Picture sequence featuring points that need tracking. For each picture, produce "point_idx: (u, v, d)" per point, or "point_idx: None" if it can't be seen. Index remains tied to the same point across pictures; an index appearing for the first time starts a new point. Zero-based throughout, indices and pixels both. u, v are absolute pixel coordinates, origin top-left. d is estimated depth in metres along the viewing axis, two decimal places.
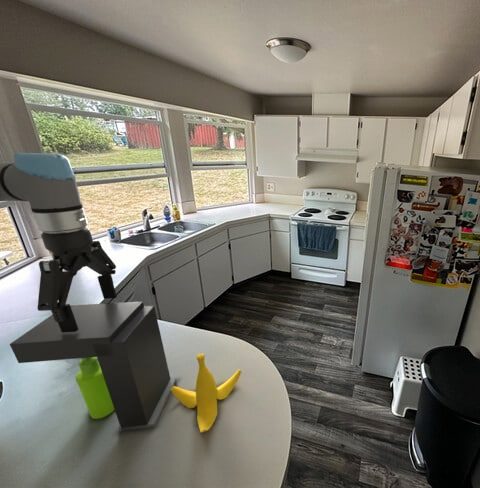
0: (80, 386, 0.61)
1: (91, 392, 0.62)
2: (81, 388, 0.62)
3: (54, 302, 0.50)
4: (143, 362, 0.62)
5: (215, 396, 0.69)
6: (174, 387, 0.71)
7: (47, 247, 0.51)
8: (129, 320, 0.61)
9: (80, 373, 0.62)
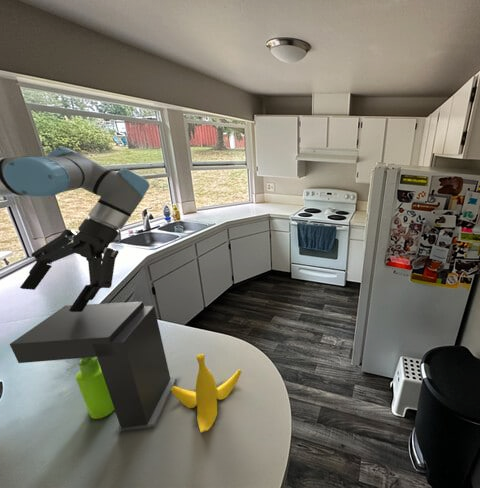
0: (80, 386, 0.61)
1: (91, 392, 0.62)
2: (81, 388, 0.62)
3: None
4: (143, 362, 0.62)
5: (215, 396, 0.69)
6: (174, 387, 0.71)
7: (103, 236, 0.63)
8: (129, 320, 0.61)
9: (80, 373, 0.62)
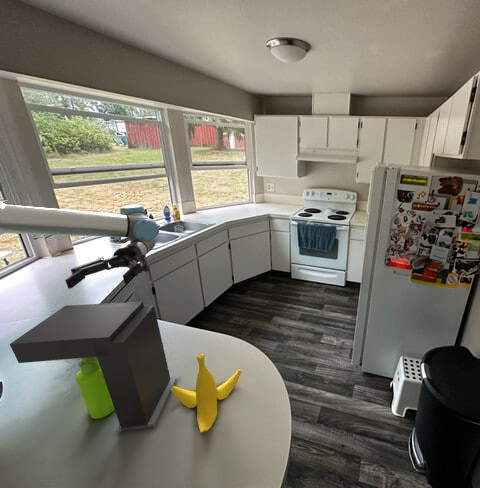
0: (80, 386, 0.61)
1: (91, 392, 0.62)
2: (81, 388, 0.62)
3: None
4: (143, 362, 0.62)
5: (215, 396, 0.69)
6: (174, 387, 0.71)
7: (136, 252, 0.88)
8: (129, 320, 0.61)
9: (80, 373, 0.62)
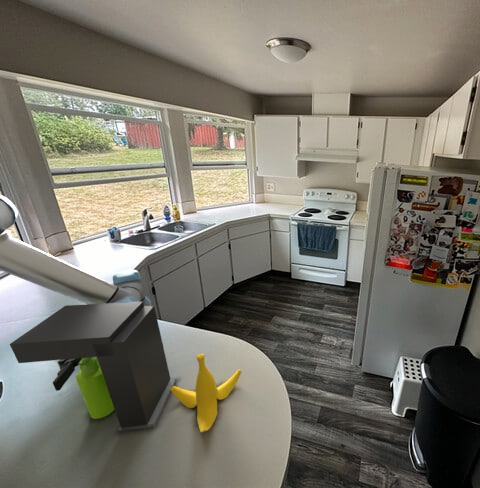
0: (80, 386, 0.61)
1: (91, 392, 0.62)
2: (81, 388, 0.62)
3: None
4: (143, 362, 0.62)
5: (215, 396, 0.69)
6: (174, 387, 0.71)
7: None
8: (129, 320, 0.61)
9: (80, 373, 0.62)
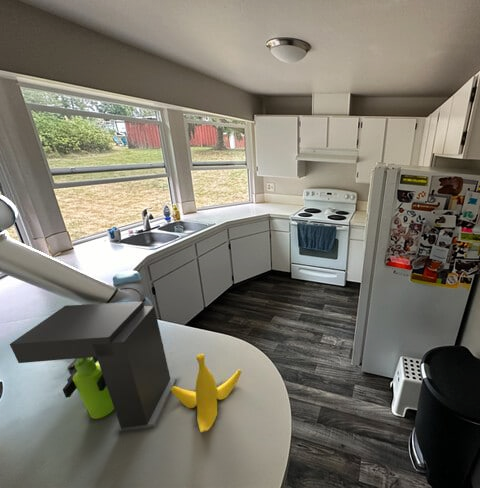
0: (77, 387, 0.61)
1: (88, 392, 0.62)
2: (78, 389, 0.61)
3: None
4: (143, 362, 0.62)
5: (215, 396, 0.69)
6: (174, 387, 0.71)
7: None
8: (129, 320, 0.61)
9: (77, 374, 0.62)
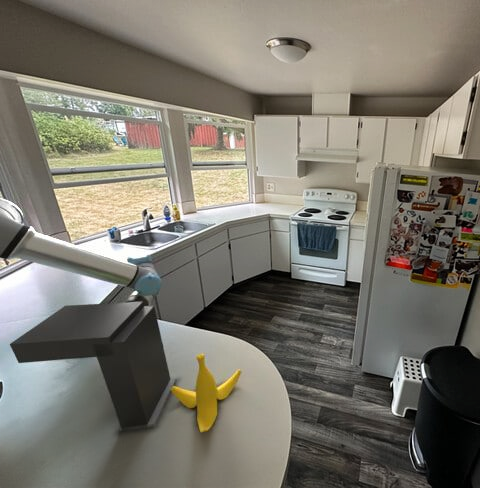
0: None
1: None
2: None
3: None
4: (143, 362, 0.62)
5: (215, 396, 0.69)
6: (174, 387, 0.71)
7: (144, 303, 0.89)
8: (129, 320, 0.61)
9: None
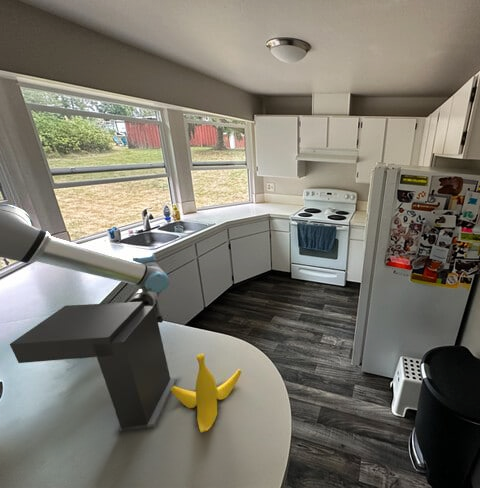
0: None
1: None
2: None
3: None
4: (143, 362, 0.62)
5: (215, 396, 0.69)
6: (174, 387, 0.71)
7: (149, 301, 0.94)
8: (129, 320, 0.61)
9: None
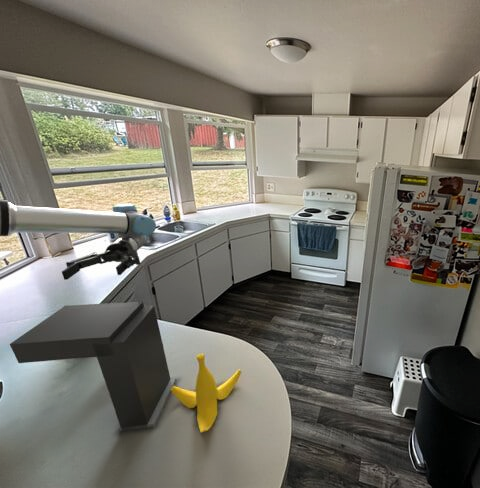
0: None
1: None
2: None
3: None
4: (143, 362, 0.62)
5: (215, 396, 0.69)
6: (174, 387, 0.71)
7: (128, 247, 0.94)
8: (129, 320, 0.61)
9: None
